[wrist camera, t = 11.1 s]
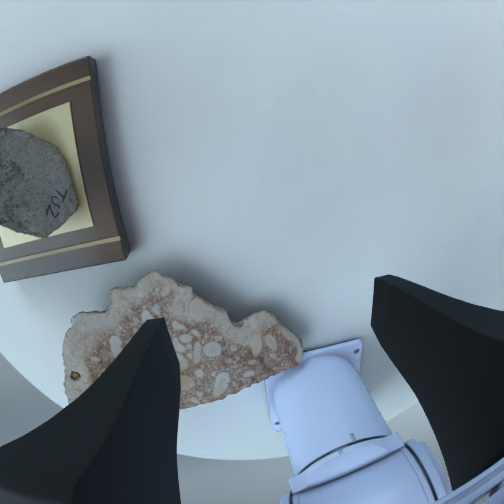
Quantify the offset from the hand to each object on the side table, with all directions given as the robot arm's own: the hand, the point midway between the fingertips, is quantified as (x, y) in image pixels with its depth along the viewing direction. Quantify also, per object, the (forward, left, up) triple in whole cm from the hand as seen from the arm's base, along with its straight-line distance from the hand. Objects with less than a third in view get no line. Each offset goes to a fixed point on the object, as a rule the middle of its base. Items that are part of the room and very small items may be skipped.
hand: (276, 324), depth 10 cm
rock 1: (+6, +12, -8) cm, 15 cm away
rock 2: (-6, +6, -10) cm, 13 cm away
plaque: (+6, +12, -9) cm, 16 cm away
